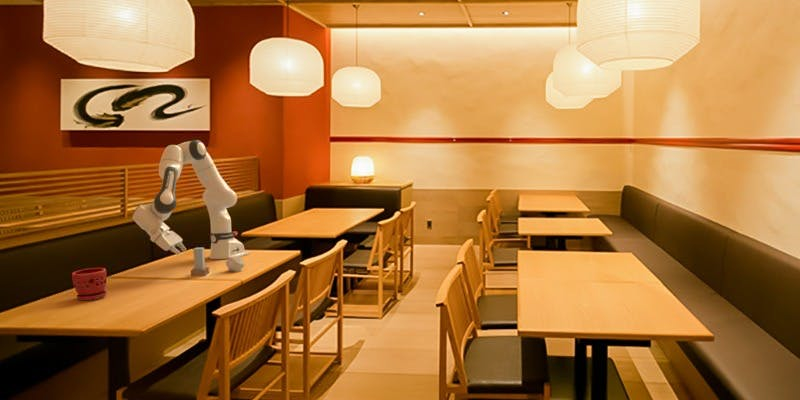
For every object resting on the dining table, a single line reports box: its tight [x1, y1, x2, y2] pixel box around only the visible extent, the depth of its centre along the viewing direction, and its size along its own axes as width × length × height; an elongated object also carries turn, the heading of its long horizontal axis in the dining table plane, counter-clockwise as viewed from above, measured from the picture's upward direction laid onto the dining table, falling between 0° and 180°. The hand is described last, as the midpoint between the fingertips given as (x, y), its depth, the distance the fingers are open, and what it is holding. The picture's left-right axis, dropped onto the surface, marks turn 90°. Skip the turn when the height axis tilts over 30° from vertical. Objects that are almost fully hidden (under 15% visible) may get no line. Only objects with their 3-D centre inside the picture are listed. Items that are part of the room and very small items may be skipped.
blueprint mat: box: [188, 272, 212, 278], centre depth 324 cm, size 14×12×1 cm
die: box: [225, 256, 246, 273], centre depth 331 cm, size 8×9×10 cm
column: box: [193, 247, 206, 270], centre depth 322 cm, size 4×4×10 cm
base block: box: [190, 266, 211, 276], centre depth 323 cm, size 7×7×3 cm
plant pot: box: [71, 267, 108, 301], centre depth 280 cm, size 13×13×12 cm
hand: (182, 252), depth 321 cm, fingers open, 8 cm apart
